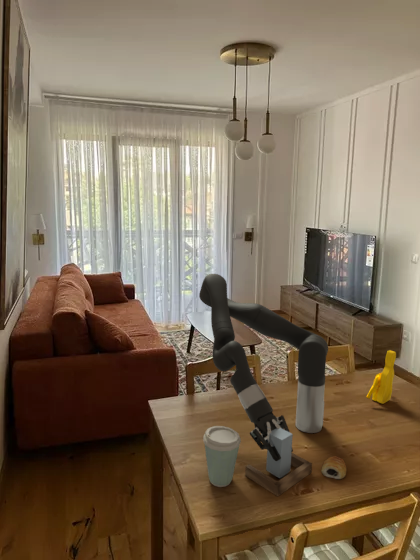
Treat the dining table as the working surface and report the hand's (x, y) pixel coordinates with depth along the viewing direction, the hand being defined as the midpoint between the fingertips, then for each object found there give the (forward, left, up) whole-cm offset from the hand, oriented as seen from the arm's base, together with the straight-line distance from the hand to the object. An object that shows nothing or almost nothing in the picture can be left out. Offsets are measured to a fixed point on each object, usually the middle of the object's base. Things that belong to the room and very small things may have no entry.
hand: (284, 456), depth 123 cm
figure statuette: (-71, -4, -7) cm, 71 cm away
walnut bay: (0, -2, -7) cm, 7 cm away
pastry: (-14, +8, -7) cm, 18 cm away
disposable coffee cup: (+15, -11, -7) cm, 20 cm away
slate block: (0, -2, -6) cm, 6 cm away
